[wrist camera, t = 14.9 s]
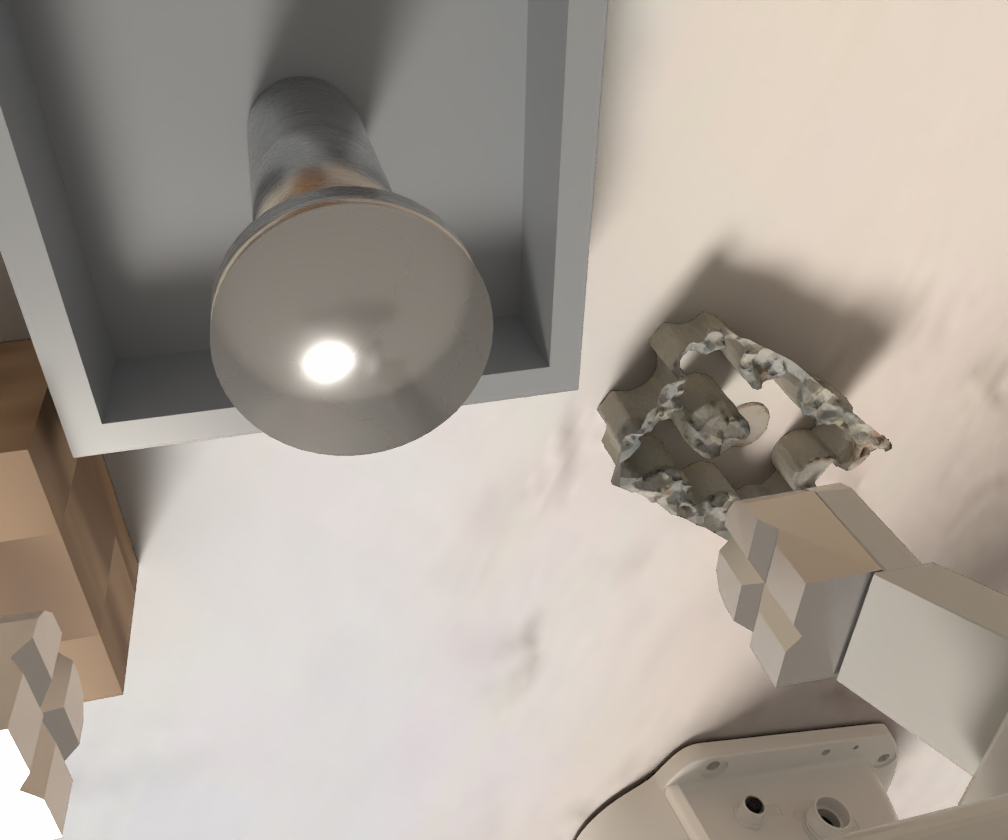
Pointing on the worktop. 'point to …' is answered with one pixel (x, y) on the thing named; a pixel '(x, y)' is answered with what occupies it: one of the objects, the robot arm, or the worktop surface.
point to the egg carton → (724, 425)
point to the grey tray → (226, 181)
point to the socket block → (61, 530)
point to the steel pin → (341, 289)
